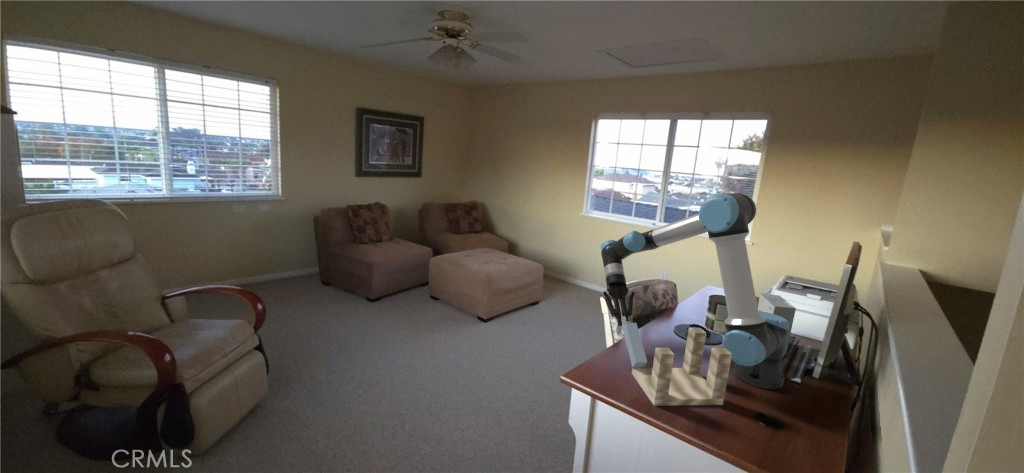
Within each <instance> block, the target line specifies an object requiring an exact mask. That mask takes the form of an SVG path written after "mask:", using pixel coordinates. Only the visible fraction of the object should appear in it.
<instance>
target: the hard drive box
mask: <svg viewBox="0 0 1024 473" xmlns="http://www.w3.org/2000/svg"><path fill="white" fill-rule="evenodd" d="M757 307H758V311H762V312H767V313H771V314H775V315H778V316H780V317H783V318H784V319H786V320H787V321H788V322H789V331H788V334H787V339H786V344H785V348H784V353H786V354H787V351H788V348H789V342H790V337H791V333H792V329H793V328H792V327H793V324H794V320H795V314H796V311H797V309H796V307H795V306H794V305H792V304H791V303H789V301H787V300H786V299H785V298H784V297H782V296H781V295H779V294H772V293H771V294H770V293H763V292H761V293H759V298H758V303H757Z"/></svg>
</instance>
